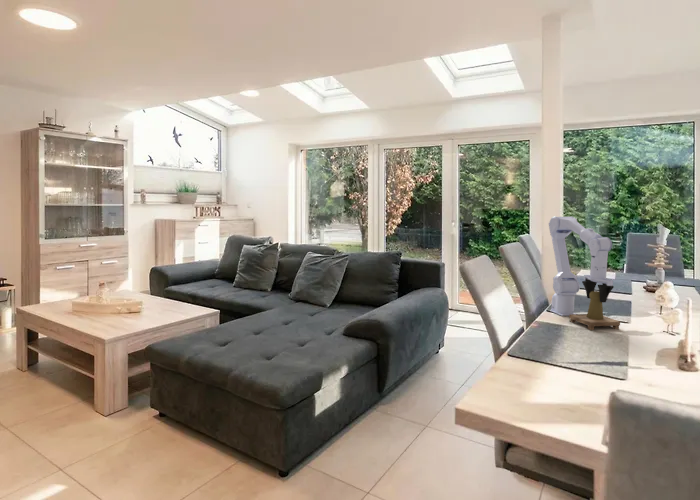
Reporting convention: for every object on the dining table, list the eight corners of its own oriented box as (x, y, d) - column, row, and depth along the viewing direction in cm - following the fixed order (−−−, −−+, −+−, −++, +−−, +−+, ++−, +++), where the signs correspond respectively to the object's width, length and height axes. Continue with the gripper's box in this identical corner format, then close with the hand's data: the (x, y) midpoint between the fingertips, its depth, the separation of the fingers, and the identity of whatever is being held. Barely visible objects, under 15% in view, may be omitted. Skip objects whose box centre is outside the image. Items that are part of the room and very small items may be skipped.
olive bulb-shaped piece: (588, 319, 181) (590, 292, 180) (585, 315, 187) (586, 289, 186) (605, 320, 179) (607, 293, 178) (601, 316, 185) (603, 290, 184)
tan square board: (569, 321, 188) (569, 314, 188) (596, 320, 191) (597, 313, 190) (590, 330, 176) (590, 322, 175) (619, 329, 178) (620, 321, 177)
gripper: (577, 264, 187) (575, 296, 189) (602, 269, 173) (599, 304, 174) (593, 264, 188) (590, 296, 190) (618, 269, 174) (616, 303, 176)
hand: (596, 300), depth 182 cm, fingers open, 7 cm apart
